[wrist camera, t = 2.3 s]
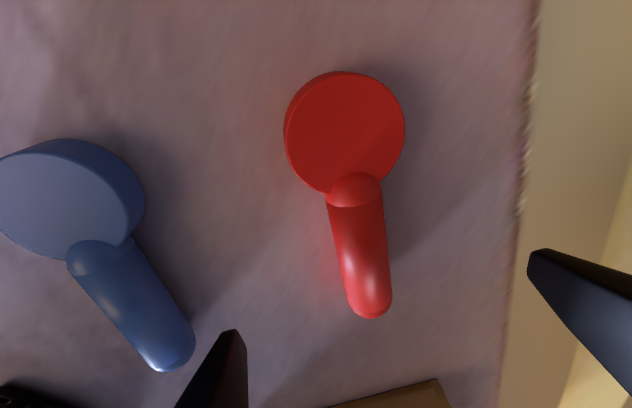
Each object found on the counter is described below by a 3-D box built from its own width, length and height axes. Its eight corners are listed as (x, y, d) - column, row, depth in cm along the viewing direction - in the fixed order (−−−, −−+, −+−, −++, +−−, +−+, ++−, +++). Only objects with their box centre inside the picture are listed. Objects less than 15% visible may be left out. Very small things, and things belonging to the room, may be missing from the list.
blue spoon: (225, 329, 14) (218, 370, 12) (148, 349, 13) (130, 393, 12) (109, 125, 9) (68, 142, 7) (-11, 154, 9) (-83, 178, 7)
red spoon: (402, 283, 14) (421, 316, 12) (328, 302, 14) (336, 339, 12) (385, 58, 9) (412, 58, 7) (269, 86, 9) (269, 93, 7)
